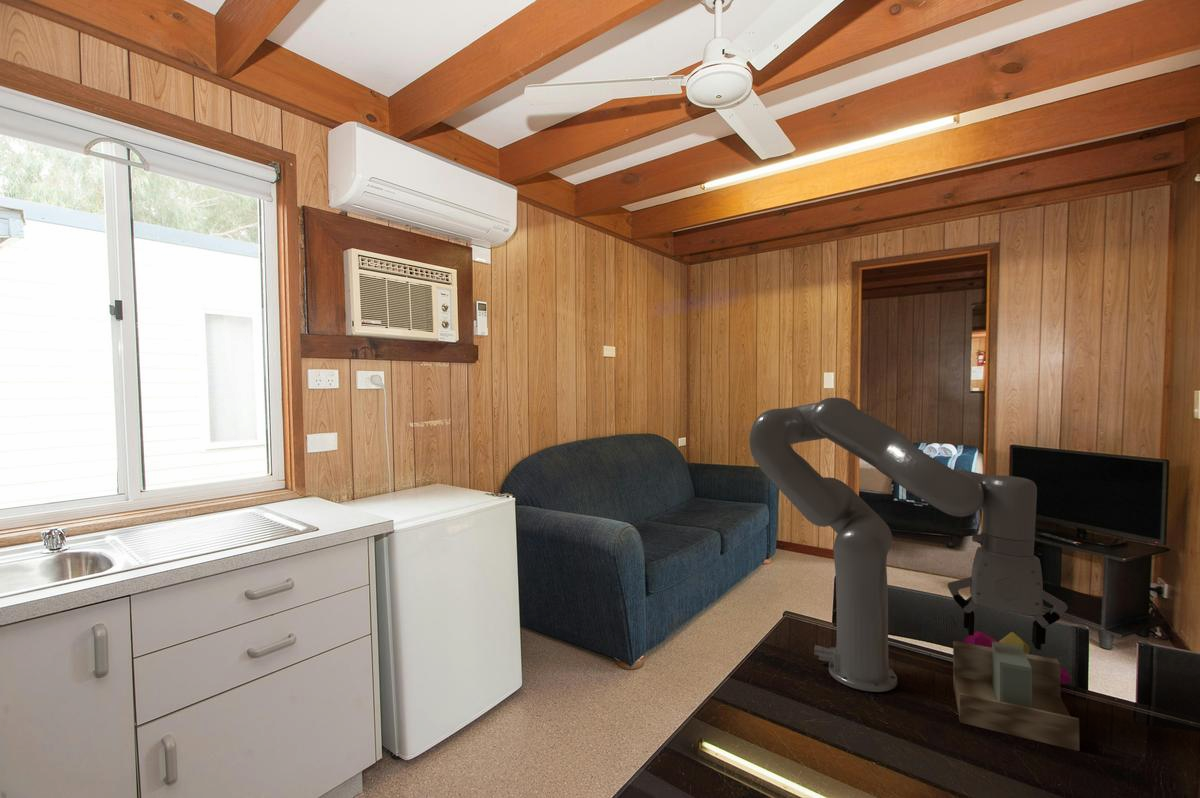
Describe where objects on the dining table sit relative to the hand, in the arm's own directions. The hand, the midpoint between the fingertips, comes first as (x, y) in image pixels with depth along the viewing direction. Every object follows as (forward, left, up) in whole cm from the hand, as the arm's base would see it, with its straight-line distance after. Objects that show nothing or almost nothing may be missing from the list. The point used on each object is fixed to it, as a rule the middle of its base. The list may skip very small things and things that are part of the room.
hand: (1002, 639), depth 97 cm
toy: (+4, +15, -14) cm, 21 cm away
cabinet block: (+1, 0, -10) cm, 10 cm away
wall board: (+1, 0, -13) cm, 13 cm away
